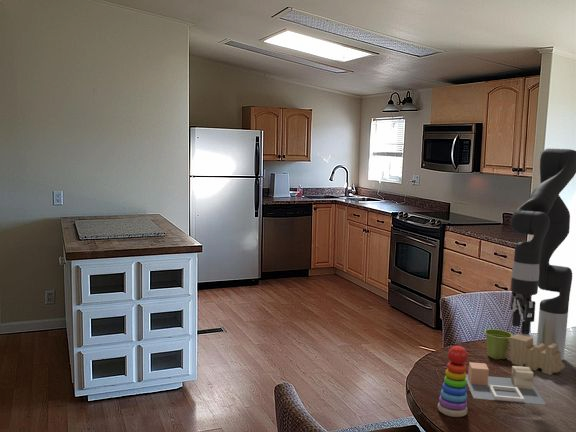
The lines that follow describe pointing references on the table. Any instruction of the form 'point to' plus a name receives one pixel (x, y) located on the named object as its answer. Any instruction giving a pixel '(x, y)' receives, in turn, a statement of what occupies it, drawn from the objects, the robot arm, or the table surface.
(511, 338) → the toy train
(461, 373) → the stacking toy
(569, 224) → the robot arm
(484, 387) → the board
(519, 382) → the maple block
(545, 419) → the table surface
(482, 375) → the terracotta block
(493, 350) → the plant pot
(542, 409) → the table surface
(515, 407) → the table surface
